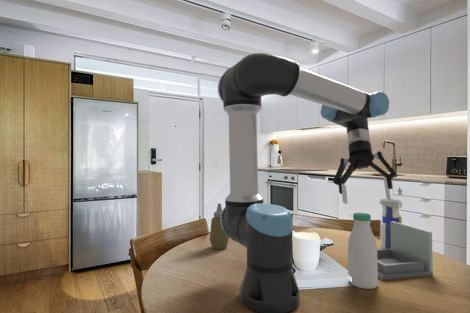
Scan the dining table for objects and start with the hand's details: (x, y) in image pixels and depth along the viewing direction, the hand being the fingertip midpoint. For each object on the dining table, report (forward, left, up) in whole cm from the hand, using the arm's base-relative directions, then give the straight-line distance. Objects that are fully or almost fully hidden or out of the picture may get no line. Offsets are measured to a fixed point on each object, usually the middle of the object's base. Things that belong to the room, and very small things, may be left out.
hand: (366, 201), depth 91 cm
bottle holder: (+7, -2, -22) cm, 23 cm away
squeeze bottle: (-45, +30, -22) cm, 59 cm away
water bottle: (+24, +16, -22) cm, 36 cm away
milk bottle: (-9, -11, -22) cm, 26 cm away
